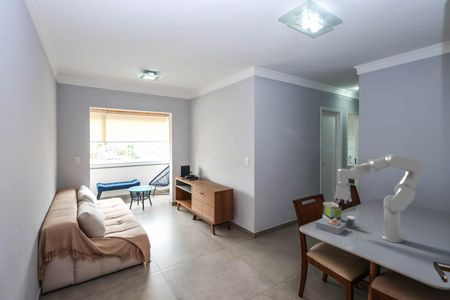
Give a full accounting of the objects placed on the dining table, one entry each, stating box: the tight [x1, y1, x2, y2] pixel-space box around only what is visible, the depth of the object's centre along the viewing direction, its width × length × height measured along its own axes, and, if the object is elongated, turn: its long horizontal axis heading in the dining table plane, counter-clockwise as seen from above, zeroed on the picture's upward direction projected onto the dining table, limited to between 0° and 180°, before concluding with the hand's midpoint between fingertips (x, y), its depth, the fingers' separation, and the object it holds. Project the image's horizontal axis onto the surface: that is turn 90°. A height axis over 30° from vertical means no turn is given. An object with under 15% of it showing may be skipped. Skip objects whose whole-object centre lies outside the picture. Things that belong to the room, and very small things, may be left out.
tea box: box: [322, 201, 342, 222], centre depth 199 cm, size 15×10×15 cm
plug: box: [346, 215, 356, 230], centre depth 181 cm, size 5×5×9 cm
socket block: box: [315, 217, 347, 235], centre depth 180 cm, size 18×14×5 cm
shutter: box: [328, 218, 342, 225], centre depth 178 cm, size 7×7×3 cm
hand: (342, 207), depth 173 cm, fingers open, 3 cm apart
